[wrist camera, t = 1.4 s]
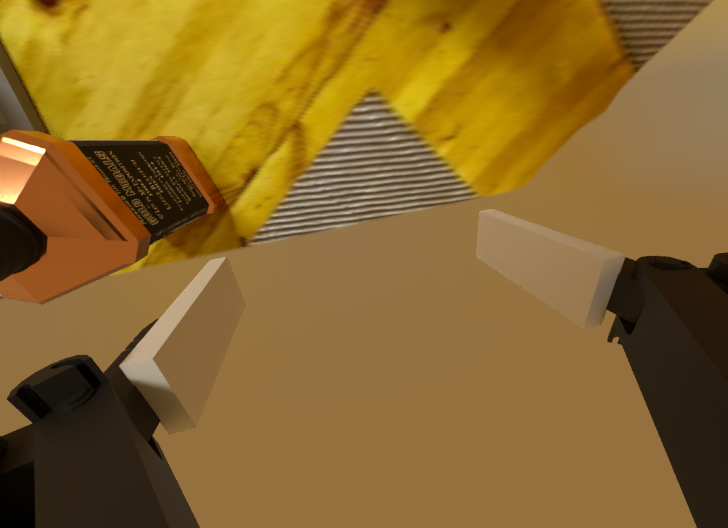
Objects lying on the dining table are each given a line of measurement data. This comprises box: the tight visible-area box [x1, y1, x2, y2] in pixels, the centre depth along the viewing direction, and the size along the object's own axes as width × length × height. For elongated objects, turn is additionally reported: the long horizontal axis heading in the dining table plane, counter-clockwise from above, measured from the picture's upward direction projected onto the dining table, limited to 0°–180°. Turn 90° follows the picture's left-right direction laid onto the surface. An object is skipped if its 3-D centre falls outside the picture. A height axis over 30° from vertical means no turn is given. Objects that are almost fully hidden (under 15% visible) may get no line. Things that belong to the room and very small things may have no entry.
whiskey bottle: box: [0, 130, 224, 305], centre depth 20 cm, size 10×10×32 cm
